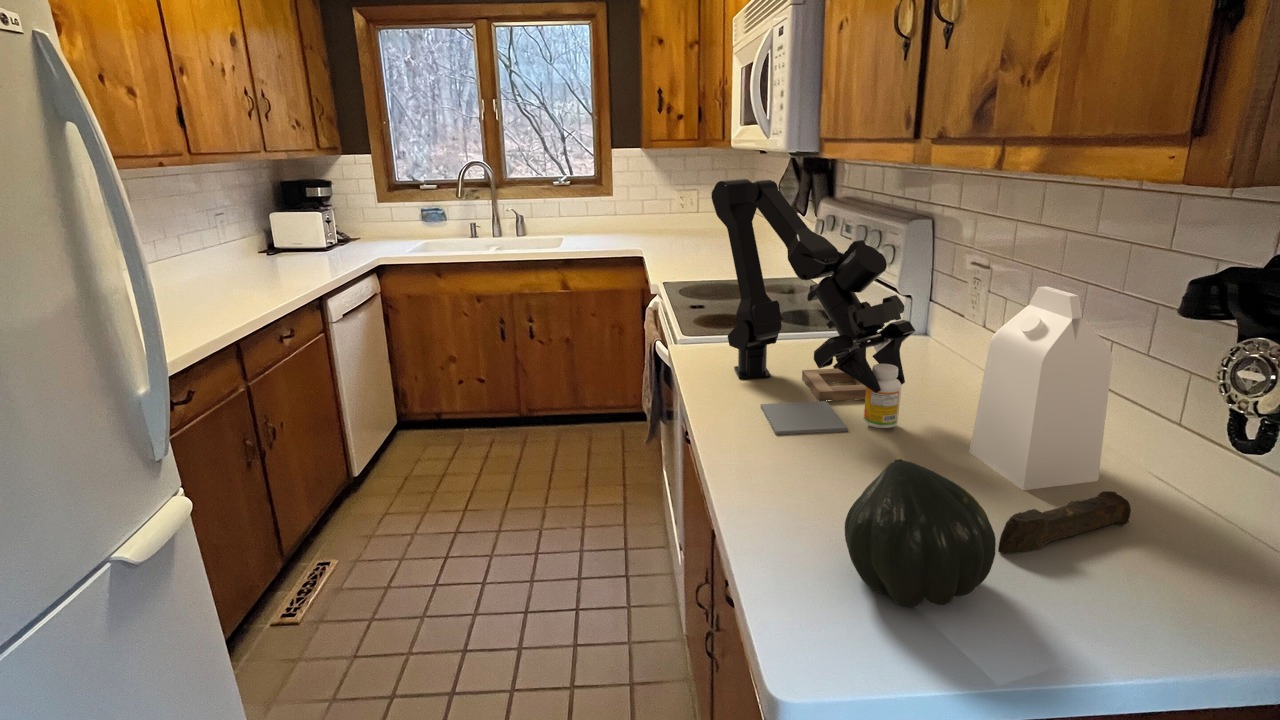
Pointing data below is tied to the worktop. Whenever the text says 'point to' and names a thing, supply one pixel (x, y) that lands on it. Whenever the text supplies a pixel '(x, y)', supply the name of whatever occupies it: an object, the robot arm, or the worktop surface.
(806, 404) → the slate mat
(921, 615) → the worktop surface
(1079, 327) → the milk
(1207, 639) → the worktop surface
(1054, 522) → the hand tool
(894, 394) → the supplement bottle
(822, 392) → the hole board
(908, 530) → the squash
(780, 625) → the worktop surface
